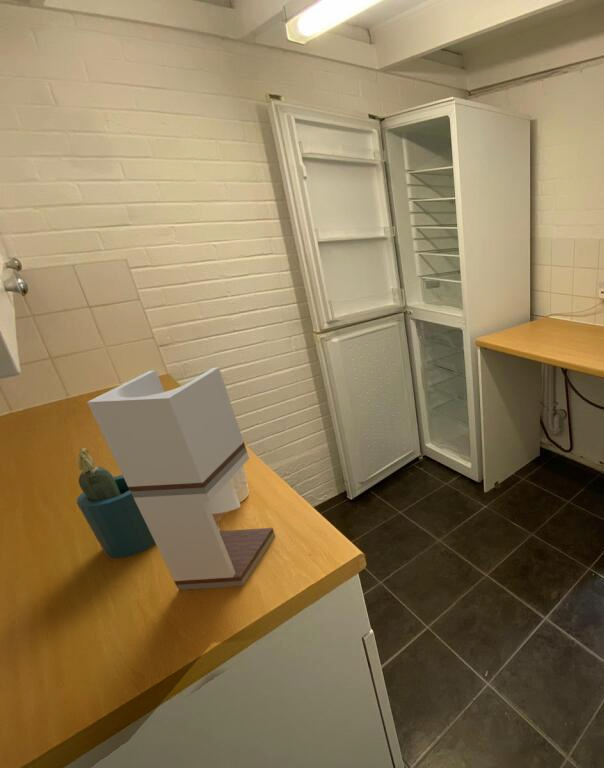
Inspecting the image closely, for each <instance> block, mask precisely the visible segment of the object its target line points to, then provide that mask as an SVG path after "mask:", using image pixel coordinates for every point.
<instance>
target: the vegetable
mask: <svg viewBox="0 0 604 768" xmlns="http://www.w3.org/2000/svg"><path fill="white" fill-rule="evenodd" d="M79 450H80V451H79V453H78V462H77V464H78V468H79V470H80V471H81V473H80V475H79V477H78V485H79V487H80V489H81V491H82V493H83V492H84V493H85V495H86V496H87V497H88V498H89V500H90V501H103V500H107V499H111V498H114V497H117V496H119V495H121V494H120V492H119V489H118V487H117V484H116V482H115V480H114V478H113V477H114V476H113V474H112V473H111V472H110V470H108V469H107V468H106V467H103V466H98V465H97V466H95V460H94V458H93V457H92V456H91V455H90V454H89V452H90V451H89V449H88V448H86V447H81V448H79Z"/></svg>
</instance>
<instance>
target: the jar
mask: <svg viewBox="0 0 604 768" xmlns="http://www.w3.org/2000/svg"><path fill="white" fill-rule="evenodd" d="M113 478H114V480H115V482H116V484H117V487H118V489H119V492H120V494H121V495H119V496H117V497H114V498H111V499H107V500H103V501H90V500H89V498H88V497H87V496H86V495H85V493H84V492H83V491H82V493H81V494H79V496H78V497H77V499H76V505H77V506H78V508H79V510H80V511H81V513H82V515H83V517H84V518H85V521H86V523H87V524H88V526H89V528H90V530H91V531H92V533H93V535H94V537H95V538H96V540H97V542H98V544H99V545H100V547H101V549H102V551H103V552H104V553H105V555H106V556H107V557H108V558H111V559H123V558H129V557H132V556H135V555H138V554H141V553H142V552H144V551H147V550H148V549H150V548H152V547H153V546H155V545H156V543H155V541H154V539H153V537H152V535H151V533H150V531H149V529H148V526H147V524H146V522H145V520H144V518H143V516H142V514H141V512H140V510H139V508H138V506H137V504H136V502H135V500H134V498H133V496H132V494H131V492H130V490H129V488H128V485H127V483H126V481H125V479H124V477H123V475H122V474H119V475H116V476H113Z"/></svg>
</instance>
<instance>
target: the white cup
mask: <svg viewBox="0 0 604 768" xmlns="http://www.w3.org/2000/svg"><path fill="white" fill-rule="evenodd" d="M231 481H232V483H233V486H234V489H235V492H236V494H237V497H238V500H239V503H240V504H241V503H242V502H243V501H245V500H246V499H247V498H248V497H249V495H250V487H249V485H248V478H247V475H246V470H245V466H244V465H243V466H242V467H241V468H240V469H239V470H238V471H237V472H236V473H235V474H234V475H233V477H232V478H231Z"/></svg>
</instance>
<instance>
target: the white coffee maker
mask: <svg viewBox="0 0 604 768" xmlns="http://www.w3.org/2000/svg"><path fill="white" fill-rule="evenodd" d="M86 403H87V406H88V408H89V409H90V412H91V414H92V416H93V418H94V420H95V422H96V424H97V426H98V428H99V431H100V432H101V434H102V436H103V438H104V441H105V442H106V444H107V446H108V449H109V451H110V453H111V455H112V457H113V459H114V461H115V463H116V465H117V467H118V469H119V471H120V473H121V475H123V477H124V479H125V481H126V483H127V485H128V488H129V490H130V492H131V494H132V496H133V498H134V500H135V502H136V504H137V506H138V508H139V510H140V512H141V514H142V516H143V518H144V520H145V522H146V524H147V526H148V529H149V531H150V533H151V535H152V537H153V539H154V541H155V543H156V544H155V545H156V547H157V549H158V551H159V553H160V555H161V557H162V560H163V561H164V563H165V565H166V568H167V570H168V571H169V574H170V576H171V578H172V580H173V582H174V584H175V586H176V588H177V590H178V591H185V590H187V591H188V590H199V589H200V590H201V589H202V590H203V589H216V588H231V587H233V588H234V587H244V586H245V585H246V583H247V581H248V580H249V578H250V577H251V576H252V573H253V572H254V570H255V569H256V567H257V566H258V564H259V562H260V561H261V559H262V558H263V556H264V555H265V553H266V551H267V550H268V548H269V547H270V545H271V543H272V542H273V540H274V539H275V537H276V534H275V532H274V531H275V530H274V528H273V527H263V528H247V529H245V528H244V529H229V530H221V529H220V527H219V522H220V520H221V519H222V518H223V517H224V516H225V515H226V514H227V513H228V512H231V511H235V510H237V509H239V508H240V507H241V502H240V503H239V500H238V497H237V494H236V492H235V489H234V486H233V483H232V481H231V478H232V477H233V475H234V474H235V473H236V472H237V471H238V470H239V469H240V468H241V467H242V466H243V467H244V465H245V464H246V463H247V462H248V461H249V460H250V457H249V452H248V451H247V447H246V444H245V440H244V438H243V435H242V432H241V429H240V427H239V426H240V425H239V424H238V420H237V417H236V414H235V412H234V408H233V406H232V402H231V400H230V397H229V393H228V390H227V388H226V385H225V382H224V379H223V376H222V372H221V370H220V367H212V368H209V370H206V371H205V372H204V373H202V374H201V375H199V376H197V377H195V378H194V379H192V380H190V381H188V382H186V383H185V384H183V385H181V386H179V387H176V388H174V389H173V388H172V389H170V390H166V391H165V389H164V386H163V384H162V382H161V380H160V377H159V374H158V372H157V370H156V369H155V370H148V371H146V372H144V373H142V374H140V375H138V376H136V377H135V378H131V379H130V380H128V381H127V382H124V383H122V384H120V385H118V386H116V387H114V388H112V389H110V390H108V391H106V392H104V393H102V394H100V395H98V396H96V397H94V398H92V399H90V400H88V401H87V402H86Z"/></svg>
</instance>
